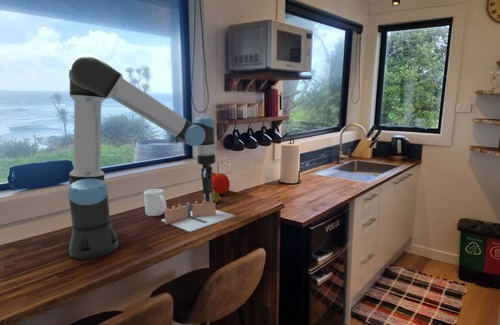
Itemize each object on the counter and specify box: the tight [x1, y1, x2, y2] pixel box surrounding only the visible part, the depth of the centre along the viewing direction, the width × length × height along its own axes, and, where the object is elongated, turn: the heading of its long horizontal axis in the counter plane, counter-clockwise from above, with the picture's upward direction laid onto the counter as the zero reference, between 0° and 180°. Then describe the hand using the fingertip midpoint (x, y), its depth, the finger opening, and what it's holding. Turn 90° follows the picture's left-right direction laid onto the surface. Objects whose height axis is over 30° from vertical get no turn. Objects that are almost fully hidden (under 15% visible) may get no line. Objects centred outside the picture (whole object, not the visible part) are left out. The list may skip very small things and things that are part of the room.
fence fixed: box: [164, 201, 191, 225], centre depth 144 cm, size 12×1×7 cm, turn 136°
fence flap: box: [190, 200, 217, 216], centre depth 149 cm, size 10×2×6 cm, turn 102°
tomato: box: [212, 171, 231, 196], centre depth 185 cm, size 13×14×12 cm
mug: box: [143, 188, 167, 217], centre depth 154 cm, size 12×8×10 cm
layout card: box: [160, 209, 236, 233], centre depth 147 cm, size 25×20×1 cm
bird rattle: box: [203, 181, 222, 203], centre depth 169 cm, size 6×11×9 cm
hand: (208, 207), depth 151 cm, fingers closed
